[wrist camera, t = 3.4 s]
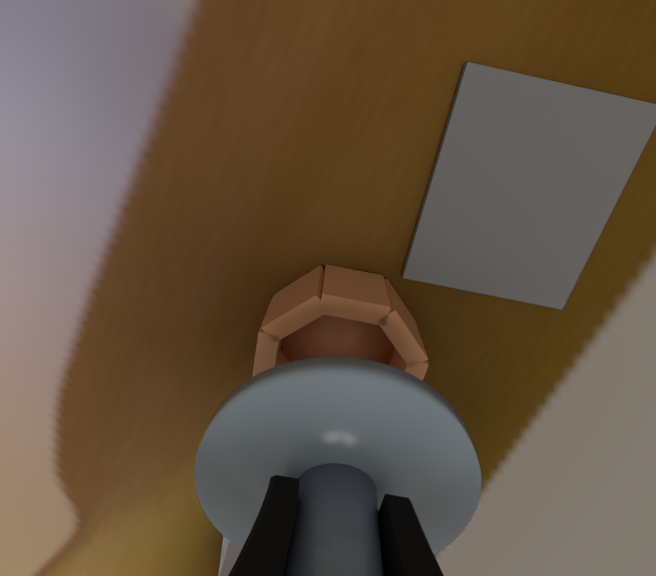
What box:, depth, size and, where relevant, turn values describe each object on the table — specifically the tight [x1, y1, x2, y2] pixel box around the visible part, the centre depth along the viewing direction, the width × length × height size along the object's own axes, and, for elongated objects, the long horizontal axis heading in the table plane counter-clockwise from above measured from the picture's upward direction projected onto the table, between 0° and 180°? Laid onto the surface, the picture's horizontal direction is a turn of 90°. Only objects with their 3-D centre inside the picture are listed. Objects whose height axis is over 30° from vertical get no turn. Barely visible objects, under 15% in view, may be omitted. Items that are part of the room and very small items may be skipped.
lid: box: [194, 357, 482, 576], centre depth 9 cm, size 8×8×4 cm
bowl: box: [252, 264, 429, 381], centre depth 17 cm, size 7×7×3 cm
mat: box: [401, 62, 656, 309], centre depth 15 cm, size 8×7×1 cm
